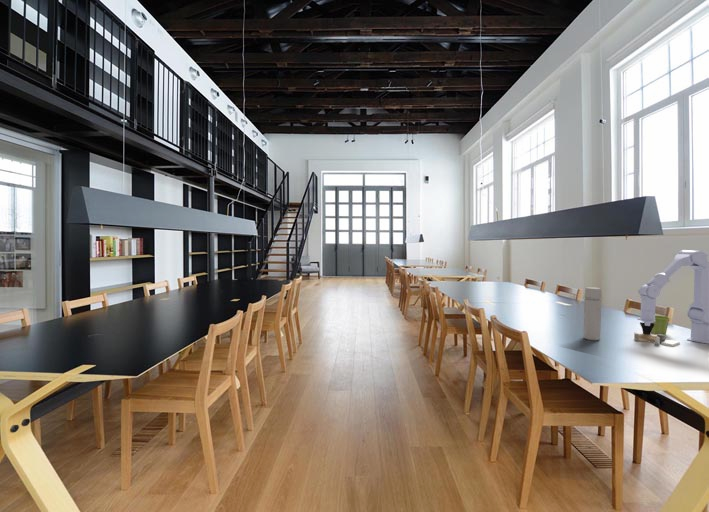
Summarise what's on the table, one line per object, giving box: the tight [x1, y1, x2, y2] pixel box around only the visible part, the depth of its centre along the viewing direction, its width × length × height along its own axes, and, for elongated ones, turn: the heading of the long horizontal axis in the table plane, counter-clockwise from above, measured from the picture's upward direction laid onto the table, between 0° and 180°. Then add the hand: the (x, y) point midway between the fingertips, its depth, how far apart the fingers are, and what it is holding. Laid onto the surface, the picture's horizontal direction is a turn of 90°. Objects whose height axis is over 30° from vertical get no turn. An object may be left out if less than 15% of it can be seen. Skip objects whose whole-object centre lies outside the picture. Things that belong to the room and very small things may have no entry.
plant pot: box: [651, 314, 671, 336], centre depth 201 cm, size 9×9×9 cm
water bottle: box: [582, 286, 603, 341], centre depth 191 cm, size 9×8×25 cm
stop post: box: [654, 337, 661, 346], centre depth 180 cm, size 2×2×4 cm
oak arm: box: [633, 332, 666, 344], centre depth 186 cm, size 12×3×4 cm, turn 63°
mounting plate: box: [661, 339, 681, 347], centre depth 181 cm, size 4×8×1 cm, turn 122°
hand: (646, 337), depth 188 cm, fingers closed, pressing on oak arm
